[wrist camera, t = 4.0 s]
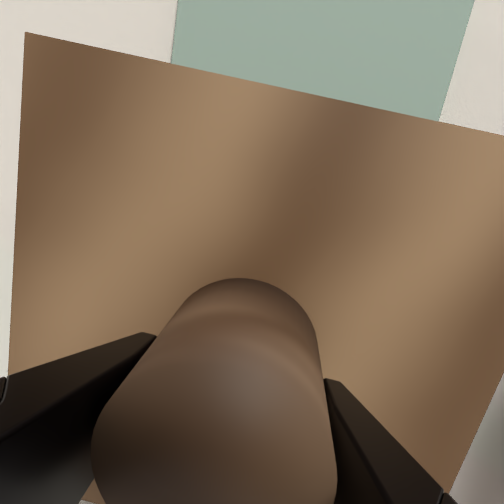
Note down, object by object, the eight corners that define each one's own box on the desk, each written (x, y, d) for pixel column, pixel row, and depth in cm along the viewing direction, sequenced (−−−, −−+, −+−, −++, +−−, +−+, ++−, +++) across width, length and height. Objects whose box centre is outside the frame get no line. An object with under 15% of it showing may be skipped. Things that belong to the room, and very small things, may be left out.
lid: (573, 157, 9) (911, 151, 4) (398, 560, 12) (467, 818, 7) (47, 42, 9) (-205, -82, 4) (20, 458, 12) (-141, 634, 8)
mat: (471, -2, 17) (476, -6, 17) (389, 273, 21) (392, 275, 20) (187, -48, 18) (184, -54, 18) (155, 224, 22) (152, 226, 21)
